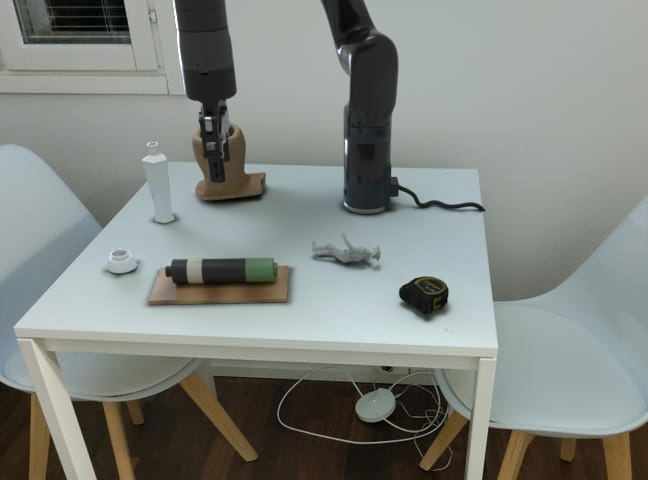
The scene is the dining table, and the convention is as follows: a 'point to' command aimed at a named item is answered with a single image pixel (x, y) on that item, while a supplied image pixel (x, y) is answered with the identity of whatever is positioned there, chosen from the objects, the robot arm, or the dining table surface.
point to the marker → (222, 270)
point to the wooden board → (219, 291)
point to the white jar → (121, 261)
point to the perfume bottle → (158, 183)
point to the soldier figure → (347, 251)
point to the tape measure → (425, 294)
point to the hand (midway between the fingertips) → (221, 171)
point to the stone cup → (227, 170)
